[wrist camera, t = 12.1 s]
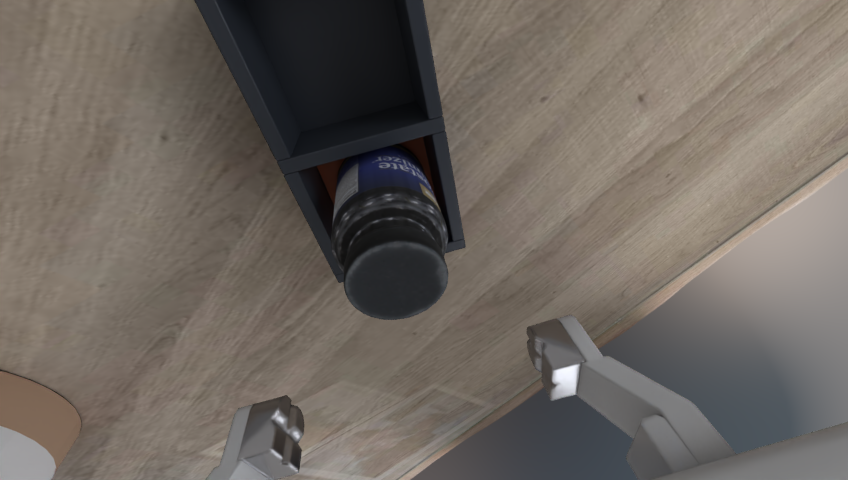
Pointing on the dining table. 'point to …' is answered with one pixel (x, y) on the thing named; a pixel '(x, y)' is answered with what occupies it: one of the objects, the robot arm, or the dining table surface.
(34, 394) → the bowl
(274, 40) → the black divided organizer
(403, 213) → the pill bottle
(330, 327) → the dining table surface
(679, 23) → the dining table surface
